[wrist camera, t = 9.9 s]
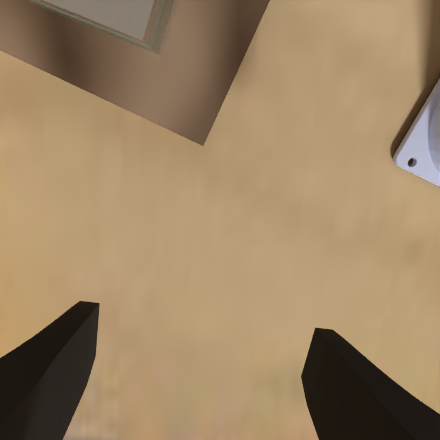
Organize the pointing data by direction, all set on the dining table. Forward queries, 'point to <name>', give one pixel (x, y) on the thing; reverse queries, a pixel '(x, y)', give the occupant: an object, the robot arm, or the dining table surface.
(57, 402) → the robot arm
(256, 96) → the dining table surface
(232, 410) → the dining table surface
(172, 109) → the walnut block
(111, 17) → the steel tin
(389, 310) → the dining table surface
